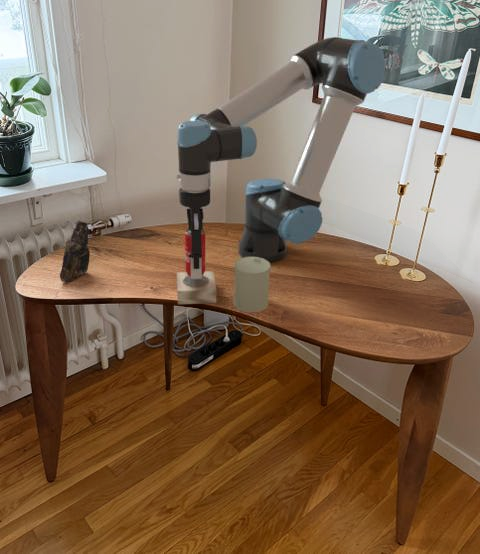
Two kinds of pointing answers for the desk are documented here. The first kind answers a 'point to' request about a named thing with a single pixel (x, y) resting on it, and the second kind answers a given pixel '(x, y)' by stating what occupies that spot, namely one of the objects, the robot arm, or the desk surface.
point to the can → (251, 284)
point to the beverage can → (188, 251)
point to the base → (196, 288)
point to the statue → (76, 254)
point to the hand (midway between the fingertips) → (195, 272)
